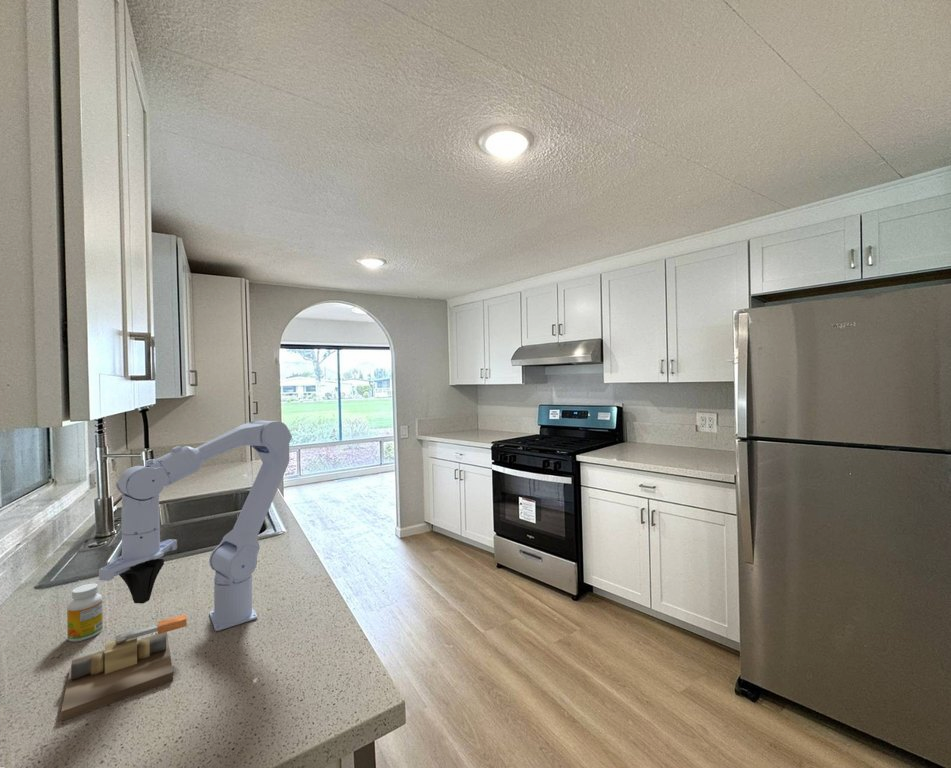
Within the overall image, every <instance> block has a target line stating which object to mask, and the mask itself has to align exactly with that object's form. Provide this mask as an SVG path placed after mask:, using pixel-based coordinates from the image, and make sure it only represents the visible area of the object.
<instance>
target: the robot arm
mask: <svg viewBox="0 0 951 768" xmlns="http://www.w3.org/2000/svg"><path fill="white" fill-rule="evenodd" d="M292 438H293V435H292V433H291V431H290V430H289V428H288V426H287V425H286V424H285V422H282V421H280V420H272V421H271V420H262V419H255V420H252V421H250V422H246V423H243V424H241V425H239V426H237V427H235V428H233V429H231V430H229V431H227V432H224V433H223V434H221V435H219V436H216V437H215V438H213V439H211V440H209V441H207V442H205V443H203V444H201V445H199V446H197V447H192V446H189V445H185V446H183V447H182V446H179V445H177V446H175V447H172V448H171V452H169V453H166V454H164V455H162V456H160V457H157V458H155V459H153V458H149V459H147V460H145V462H144V463H145V465H134V466H131V467H129V468H127V469H125V470H123V473H122V474H121V473H120V475H119V477H118V481H117V482H116V483H115V486H116V489H117V491H118V492H119V493H120V494H121V495H122V496H121V510H120V511H121V519H120V520H121V555H120V556H119V557H118V558H116V559H115V560H113V561H111V562H110V563H108V564H107V565H105V566H103V567H101V568H98V580H99V581H107V582H108V581H112V580H113V579H115V577H117V576H119V577H120V578H121V579H122V580H123V582H125V585H126V586H127V587H128V591H129V592H130V595H131V597H132V601H133V604H142V605H143V604H145V603H147V602H149V601H150V599H151V595H152V591H153V588H154V585H155V584H156V583H155V582H156V580H157V577H158V575H159V573H160V571H161V569H162V568H163V566H164V565H165V559H164V558H162V557H163V556H164V554H166V553H168V552H172V551H175V550H177V549H178V539H170V538H169V539H166V540H162V541H161V531H160V529H161V526H160V525H161V523H160V521H161V520H160V519H161V518H160V516H161V515H160V500H159V499H160V494H161V492H162V491H163V490H164V488H165V487H167V486H169V485H172V484H175V483H176V482H178V481H180V480H182V479H184V478H186V477H188V476H190V475H192V474H194V473H197V472H198V471H200V470H201V468H202V466H203V464H204V462H206V461H208V460H210V459H211V460H212V459H213V458H215V457H217V456H220V455H222V454H224V453H226V452H227V453H228V452H229V451H232V450H233V449H236V448H239V447H240V446H250V447H252V448H253V449H254V450H255V451H256V453H257V454H258V456H259V458H260V460H261V462H262V464H261V466H260V468H259V471H258V473H257V475H256V477H255V479H254V482H253V484H252V485H251V488H250V491H249V493H248V495H247V497H246V499H245V501H244V504H243V506H242V508H241V510H240V512H239V514H238V517H237V519H236V521H235V523H234V525H233V528H232V530H230V531H229V532H227V533H226V534H225V535H224V536H223V538H222V540H221V541H220V543H219V544H218V545H217V546H216V547H215V548H214V549H213V551H212V552H211V553H210V556H209V559H208V560H209V561H208V562H209V566H210V568H211V570H213V571H214V572H215V575H214V577H213V578H214V579H213V580H214V581H213V585H214V586H213V588H214V591H213V594H214V595H213V596H214V598H213V599H214V600H213V601H214V605H213V606H214V609H213V610H210V611H209V617H210V621H211V622H212V626H213V629H214V631H215V632H218V631H222V630H224V629H228V628H232V627H234V626H237V625H238V626H239V625H241V624H243V623H246V622H250V621H253V620H256V619H258V614H257V613H256V611H255V609H254V608H253V573H254V572H255V571H256V568H257V564H258V553H259V550H260V548H261V546H260V542H259V538H258V537H259V536H258V535H259V533H260V531H261V529H262V527H263V524H264V521H265V519H266V517H267V515H268V512H269V510H270V509H271V508H270V507H271V505H272V503H273V501H274V498H275V496H276V495H277V494H276V493H277V491H278V489H279V487H280V484H281V482H282V479H283V477H284V475H285V473H286V470H287V468H288V466H289V464H290V442H291V440H292Z"/></svg>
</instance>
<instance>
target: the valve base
mask: <svg viewBox="0 0 951 768" xmlns="http://www.w3.org/2000/svg"><path fill="white" fill-rule="evenodd" d="M173 681H174V670H173V665H172V657H171V651H170V645H169V638H168V632H164V633H161V634H158V633H157V634H154V635H150V636H148V637H144V638H140V639H138V637H136V638H132V639H128V640H127V641H125V642H124V643H121V644H116V643H115V639H113V640H111V641H107V642H105V646H104V650H101V651H98V652H95V653H91V654H86V656H82V657H78V658H75V659H72V660H71V663H70V669H69V673H68V676H67V683H66V687H65V692H64V697H63V700H62V701H63V702H62V704H61V705H62V706H61V711H60V713H61V714H60V720H61V721H60V722H63V721H66V720H70V719H71V718H75V717H77V716H79V715H82V714H85V713H88V712H90V711H93V710H96V709H100V708H101V707H104V706H106V705H110V704H113V703H115V702H118V701H121V700H124V699H126V698H129V697H132V696H134V695H137V694H141V693H143V692H145V691H148V690H151V689H153V688H156V687H159V686H162V685H164V684H167V683H170V682H173Z"/></svg>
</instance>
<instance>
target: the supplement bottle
mask: <svg viewBox="0 0 951 768" xmlns="http://www.w3.org/2000/svg"><path fill="white" fill-rule="evenodd" d="M98 592H99V585H98V584H97V583H88V584H82V585H80V586H78V587H75V588H74V589H72V591H71V600H70V601H69V602H68V603H67V606H66V607H67V609H66V611H67V614H66V615H67V616H66V617H67V624H66V625H67V626H66V627H67V640H68V641H69V642H73V643H74V642H81V641H85V640H89V639H91V638H93V637H95V636H96V635H98V634H100V633H101V632H102V630H103V627H104V626H103V623H104V621H103V619H104V618H103V614H104V613H103V596H102V594H101V593H98Z"/></svg>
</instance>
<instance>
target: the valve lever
mask: <svg viewBox="0 0 951 768" xmlns="http://www.w3.org/2000/svg"><path fill="white" fill-rule="evenodd" d="M187 625H188V624H187V614H186V613H185V614H182V615H181V614H180V615H177V616H174V617H170V618H166V619H162V620H159V621H157V624H154V625H151V626H148V627H145V628H141V629H137V630H133V631H129V632H126V633H122V634H119V635H116V636H115V639H114V640H115V643H116V644H121V643H124V642H125V641H127V640H128V639H132V638H136V637H137V638H138V637H142V636H146V635H150V634H153V633H157V634H161V633H164V632H167V633H168V632H171V631H174V630H178V629H181V628H185V627H187Z"/></svg>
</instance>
